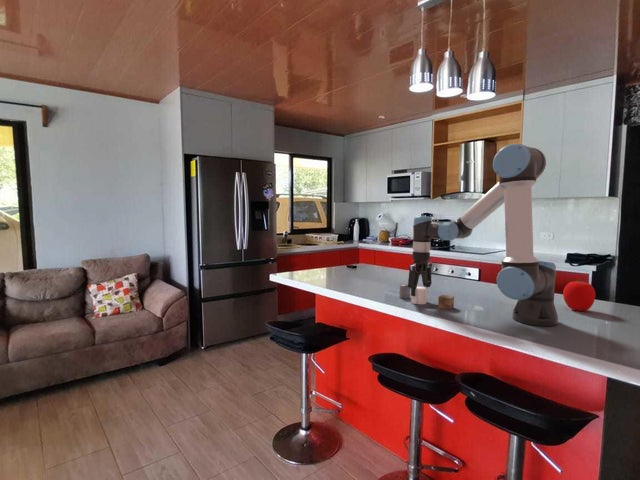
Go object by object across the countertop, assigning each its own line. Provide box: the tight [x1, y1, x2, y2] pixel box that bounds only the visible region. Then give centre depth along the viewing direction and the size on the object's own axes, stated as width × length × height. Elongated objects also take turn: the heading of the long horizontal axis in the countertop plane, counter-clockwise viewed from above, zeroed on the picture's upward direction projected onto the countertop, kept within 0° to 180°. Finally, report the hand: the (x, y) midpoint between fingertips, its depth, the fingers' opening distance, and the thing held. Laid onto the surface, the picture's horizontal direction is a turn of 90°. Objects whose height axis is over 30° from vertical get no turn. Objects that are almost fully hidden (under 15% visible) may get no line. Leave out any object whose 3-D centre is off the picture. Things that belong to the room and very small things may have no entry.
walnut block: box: [437, 294, 455, 311], centre depth 159 cm, size 5×5×5 cm
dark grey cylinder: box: [398, 283, 411, 300], centre depth 176 cm, size 5×5×6 cm
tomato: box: [562, 280, 597, 312], centre depth 157 cm, size 11×11×13 cm
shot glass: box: [416, 285, 429, 305], centre depth 167 cm, size 7×7×7 cm
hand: (419, 301), depth 168 cm, fingers closed on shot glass, 7 cm apart
